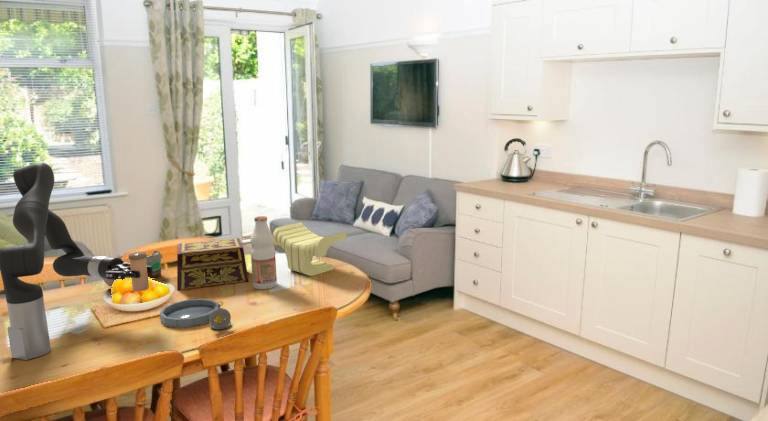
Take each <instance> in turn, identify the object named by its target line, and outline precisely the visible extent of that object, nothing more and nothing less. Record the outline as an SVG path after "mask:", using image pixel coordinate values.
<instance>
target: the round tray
mask: <svg viewBox="0 0 768 421" xmlns="http://www.w3.org/2000/svg"><path fill="white" fill-rule="evenodd" d="M216 302H217V301H215V300H213V299H207V298H193V299H191V298H190V299H185V300H180V301H176V302H172V303H170V304H169V305H166V306H164V307H162V309H161V310H160V311H159V319H160V323H161V324H162V325H164V326H166V327H170V328H190V327H191V328H192V327H196V326H197V327H198V326H200V325H204V324H208V323H210V321H209V317H210V314H211V312H212V311H214V310H215V309H218V307H217V306H215V303H216ZM218 304H219V302H218V303H216V305H218ZM215 318H216V317H215Z"/></svg>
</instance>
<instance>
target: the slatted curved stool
mask: <svg viewBox="0 0 768 421" xmlns="http://www.w3.org/2000/svg"><path fill="white" fill-rule="evenodd" d="M272 234H273V237H274V243H273V246H278V247H281V248H282V250H284V253H285V257H286V260H287V262H286V263H287V268H288V269H289V270H290V271H294V272H298V273H299V274H304V275H306V276H310V277H312V276H315V275H319V274H322V273H326V272H329V271H331V270H332V271H333V270H335V267H334V265H333V263H329V262H326V261H322V260H321V261H320V260H319V259H314V260H313V258H314V256H315V257H317V258H321V257H324V256H327V252H328V250H329V248H330V247H331V246H333V244H335V243H337V242H340V241H344V240H346V239H347V232H346V231H344V232H341V233H337V234H334V235H329V236H326V237H324V236H320V235H318V234H316V233H315V232H313V231H311V230H310V229H308V227H307V226H305V225H304V223H302V221H300V222H296V223H291V224H286V225H282V226H278V227H276V228H275V229H274V231H273V233H272Z"/></svg>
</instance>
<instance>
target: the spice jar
mask: <svg viewBox="0 0 768 421" xmlns="http://www.w3.org/2000/svg"><path fill="white" fill-rule="evenodd" d="M146 256H147V253H146V252H145V251H134V252H132V253H129V254H128V260H129V263H130V269H131V270H133V271H139V272H140V278H132V277H131V278H132V282H131V284H132V291H133V292H144V291H146V290H148V289H150V283H149V280H148V273H147V264H146Z"/></svg>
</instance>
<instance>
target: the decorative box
mask: <svg viewBox="0 0 768 421" xmlns="http://www.w3.org/2000/svg"><path fill="white" fill-rule="evenodd" d="M176 252H177V255H176V258H177V261H176V263H177V264H176V265H177V266H176V270H177V272H176V273H177V274H176V275H177V276H176V277H177V283H176V284H177V287H176V288H177V291H188V290H198V289H205V288H206V289H207V288H213V287H222V286H223V287H224V286H230V285H238V284H246V283H249V282H250V280H249V275H248V268H247V262H246V256H245V249H244V246H243V243H242V240H241V238H240V237H236V238H226V239H225V238H223V239H213V240H204V241H193V242H184V243H183V242H181V243H177V251H176Z"/></svg>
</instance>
